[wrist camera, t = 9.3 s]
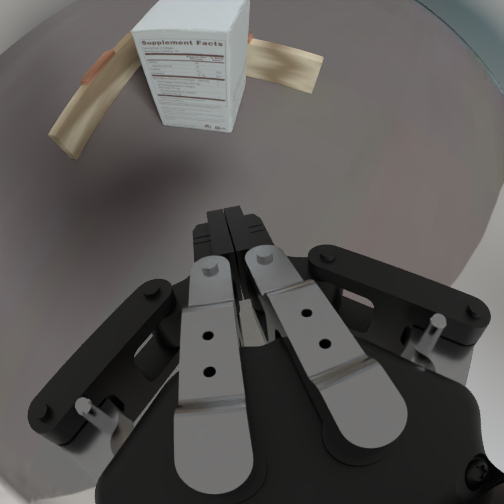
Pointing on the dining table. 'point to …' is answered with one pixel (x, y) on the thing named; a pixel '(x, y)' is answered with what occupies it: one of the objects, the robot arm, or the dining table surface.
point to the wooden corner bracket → (127, 62)
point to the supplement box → (195, 60)
